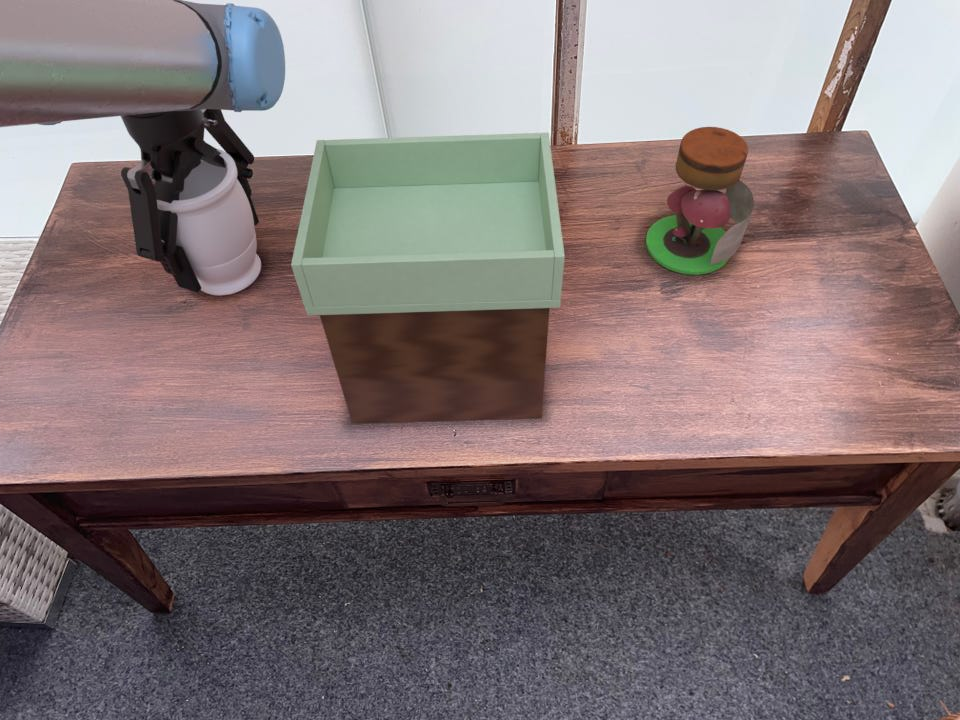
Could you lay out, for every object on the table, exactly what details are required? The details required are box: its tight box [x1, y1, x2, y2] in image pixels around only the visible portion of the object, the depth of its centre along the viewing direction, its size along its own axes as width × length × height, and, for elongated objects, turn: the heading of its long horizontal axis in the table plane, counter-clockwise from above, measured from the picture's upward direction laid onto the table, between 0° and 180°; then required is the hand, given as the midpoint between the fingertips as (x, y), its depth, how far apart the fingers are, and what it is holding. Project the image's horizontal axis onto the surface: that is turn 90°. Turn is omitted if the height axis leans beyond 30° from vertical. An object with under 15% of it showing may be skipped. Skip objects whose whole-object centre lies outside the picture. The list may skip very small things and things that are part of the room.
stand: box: [319, 308, 551, 425], centre depth 74 cm, size 20×15×18 cm
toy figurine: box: [645, 126, 755, 276], centre depth 85 cm, size 12×13×15 cm
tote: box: [290, 132, 566, 316], centre depth 64 cm, size 22×17×6 cm
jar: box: [157, 148, 262, 297], centre depth 85 cm, size 11×10×15 cm
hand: (220, 253), depth 88 cm, fingers open, 12 cm apart
